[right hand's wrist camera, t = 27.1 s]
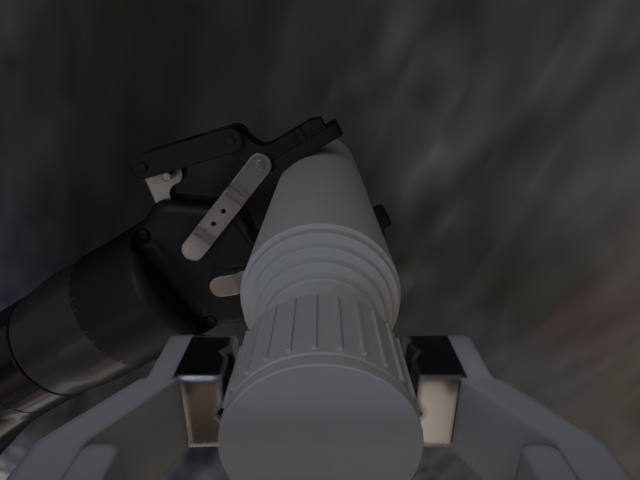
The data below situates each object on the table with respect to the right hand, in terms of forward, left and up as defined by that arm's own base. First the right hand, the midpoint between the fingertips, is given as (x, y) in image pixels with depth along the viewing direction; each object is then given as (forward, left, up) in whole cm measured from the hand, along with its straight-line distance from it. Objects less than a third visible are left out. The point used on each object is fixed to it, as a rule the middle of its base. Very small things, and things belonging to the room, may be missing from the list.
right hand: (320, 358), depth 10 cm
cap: (0, 0, +2) cm, 2 cm away
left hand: (-2, -2, -14) cm, 15 cm away
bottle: (0, 0, -21) cm, 21 cm away
